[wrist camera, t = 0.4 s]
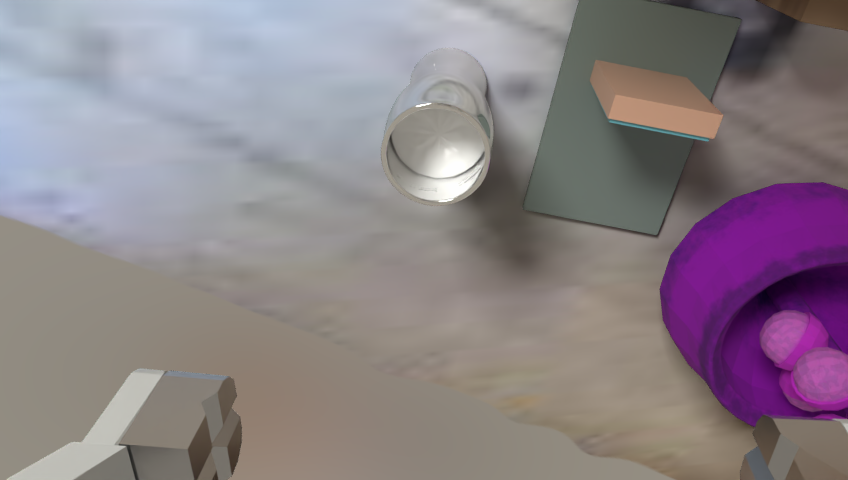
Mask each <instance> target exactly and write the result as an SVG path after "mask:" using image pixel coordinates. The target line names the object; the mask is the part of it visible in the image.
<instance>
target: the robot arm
mask: <svg viewBox="0 0 848 480" xmlns="http://www.w3.org/2000/svg"><path fill="white" fill-rule="evenodd" d="M236 397H237V393H236V388H235V383H234V380H233V379H232V378H231V377H229V376H219V375H210V374H199V373H189V372H178V371H161V370H151V369H141V368H139V369H137V370H136V371H134V372H132V373H131V374H130V375H129V377H128V378H127V379H126V381H125V382H124V383H123V385H122V386H121V388H120V389H119V390H118V392H117V394H116V395H115V396H114V397H113V399H112V400H111V402H110V403H109V405H108V406H107V407H106V409H105V410H104V412H103V413H102V414H101V416H100V417H99V419H98V420H97V421H96V423H95V424H94V426H93V427H92V429H91V430H90V431H89V433H88V434H87V435H86V437H85V438H84V440H83V441H82V442H71V443H69V444H67V445H66V446H64V447H62V448H61V449H59V450H57V451H55V452H53V453H52V454H50V455H48V456H46V457H45V458H43V459H41V460H39V461H38V462H36V463H34V464H32V465H30V466H29V467H27V468H25V469H23V470H22V471H20V472H18V473H16V474H15V475H13V476H11V477H9V478H8V479H6V480H228V479H229V478H230V477H232V475H233V472H234V470H235V467H236V465H237V462H238V458H239V453H240V448H241V443H242V426H241V419H240V416H239V415H238V414H237V413H236V412H235V411H234V410H233V409H232V405H233V403H234V401H235V399H236ZM753 436H754V438H755V440H756V442H757V445H758V446H757V447H756V448H754V449H753V450H751V451H750V452H748V453H747V454H746V455H745V456H744V460H743V463H742V466H741V470H740V480H848V419H825V418H810V417H794V416H779V415H762V416H761V418H760V419H759V420H758V421H757V423H756V425H755V428H754V431H753Z"/></svg>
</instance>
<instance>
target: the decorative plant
mask: <svg viewBox="0 0 848 480" xmlns="http://www.w3.org/2000/svg"><path fill="white" fill-rule="evenodd" d="M660 296H661V306H662V315H663V321H664V323H665V325H666V327H667V329H668V331H669V333H670V335H671V337H672V339H673V341H674V342H675V344H676V345H677V347H678V349H679V350H680V352H681V353H682V355H683V357H684V358H685V360H686V361H687V363H688V364H689V365H690V366H691V367H692V368H693V369H694V370H695V371H696V372H697V373H698V374H699V375H700V376H701V377H702V378H703V379H704V380H705V381H706V383H707V384H708V386H709V388H710V389H711V391H712V392H713V394H714V395H715V397H716V398H717V399H718V400H719V402H720V403H721V404H722V406H723V407H725V408H726V409H727V410H728V411H729V412H731V413H732V414H733V415H734V416H735V417H737V418H738V419H740V420H742V421H744V422H746V423H747V424H749V425H751V426H753V427H755V425H756V423H757V421H758V420H759V419H760V418H761V416H762V415H779V416H794V417H810V418H825V419H848V190H847V189H843V188H840V187H837V186H833V185H830V184H827V183H823V182H819V183H785V184H775V185H772V186H769V187H766V188H763V189H760V190H757V191H754V192H751V193H748V194H745V195H742V196H739V197H736V198H733V199H731V200H730V201H728V202H727V203H725V204H724V205H722V206H721V207H720V208H718V209H717V210H715V211H714V212H712V213H711V214H709V215H708V216H706V217H705V218H703V219H702V220H700V221H699V222H697V223H696V224H695V225H694V226H693V228H692V229H691V230H690V231H689V233H688V234H687V235H686V236H685V238H684V239H683V240H682V242H681V243H680V244H679V245H678V247H677V248H676V249H675V250H674V252H673V253H672V254H671V256H670V259H669V262H668V265H667V268H666V271H665V274H664V277H663V280H662V283H661V286H660Z"/></svg>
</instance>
